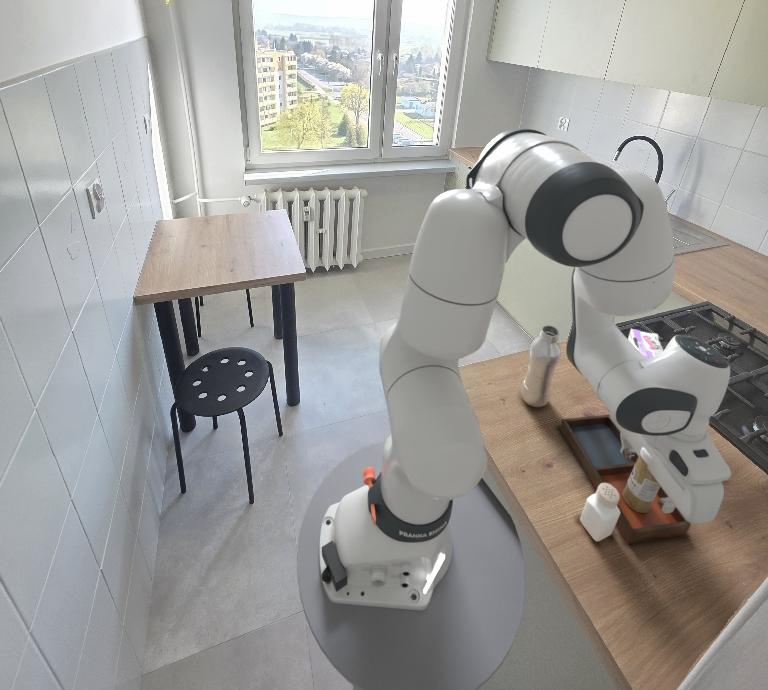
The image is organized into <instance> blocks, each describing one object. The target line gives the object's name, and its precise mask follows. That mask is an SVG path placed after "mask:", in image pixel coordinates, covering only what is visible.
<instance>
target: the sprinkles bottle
mask: <svg viewBox="0 0 768 690" xmlns="http://www.w3.org/2000/svg"><path fill="white" fill-rule="evenodd" d="M640 455H641V456H640V457H638V459H637V461H636V463H635V465H634V467H633V470H632V472H631V474H630V477H629V479H628V482H627V484H626V487H625V488H624V489H623V492H622V495H623V498H624V501H625V502H626V504H627V505H628V506H629V507H630V508H632V509H633V510H635V511H637V512H640V513H647V512H648V511H649V510H650V507H651V504H652V501H653V500H654V498H655V496H656V494H657V492H658V490H659V488H660V484H659V483H658V482H657V480H656V479H655V478H654V476H653V475H652V474H651V472H650V471H649V470H648V468H647V466H648V465H649V466H650V464H651V462H652V457H651V456H650V454H649V453H648V452H647V450H646V449H645V448H644V447H642V448H641V451H640ZM647 464H648V465H647Z"/></svg>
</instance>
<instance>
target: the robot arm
mask: <svg viewBox="0 0 768 690" xmlns="http://www.w3.org/2000/svg"><path fill="white" fill-rule="evenodd" d="M470 179H471V185H470ZM465 185H466V186H465V187H466V188H455V189H450V190H447V191H445V192H442V193H440V194H439V195H438V196H436V197H435V198H434V199H433V201H432V202H431V203H430V205H429V206H428V209H427V211H426V214H425V215H424V217H423V220H422V222H421V224H420V225H421V226H420V228H419V231H418V234H417V237H416V240H415V244H414V246H413V251H412V254H411V257H410V262H409V268H408V273H407V278H406V283H405V288H404V293H403V298H402V304H401V308H400V314H399V317H398V319H397V322H396V323H394V324H392V325H391V326H390V327H389V328H388V329H387V330H386V331H385V332H384V333H383V335H382V337H381V338H380V343H379V355H378V370H379V376H380V380H381V385H382V389H383V390H382V391H383V395H384V400H385V403H386V404H385V405H386V410H387V416H388V422H389V427H390V434H389V435H388V437H387V438H386V440H385V441H386V442H385V444H384V447H383V456H382V471H381V473H380V474H379V476H378V477H377V479H376V478H375V470H374V468H372V467H367V468H365V469H364V470H363V476H364V484H365V486H363V487H361V488H359V489H357V490H355V491H353V492H351V493H349V494H347V495H345V496H344V497H343V498H342V499H341V501H340V502H339V503H336V504H333V505H331V506H330V507H329V508H328V510H327V512H326V514H325V516H324V519H323V522H322V526H321V532H320V541H319V565H320V573H321V579H322V583H323V586H324V589H325V591H326V594H327V596H328V597H329V599H330V600H331V601H332V602H334V603H340V604H351V605H362V606H373V607H384V608H396V609H407V610H418V611H423V610H425V609H427V607H428V606H429V604H430V601H431V598H432V594H433V591H434V588H435V587H436V585H437V584H438V583H439V582H440V580H441V579H442V578H443V577H444V575H445V574H446V572H447V570H448V568H449V565H450V562H451V558H452V537H451V533H450V530H449V520H450V517H451V512H452V507H453V499H457V498H459V497H462V496H464V495H465V494H467V493H469V492H470V491H471V490H472V489H473V488H474V487H475V486H476V485H477V484H478V483H479V481H480V480H481V478H483V476H484V474H485V472H486V470H487V466H488V457H487V452H486V447H485V441H484V437H483V432H482V428H481V424H480V421H479V418H478V415H477V413H476V411H475V408H474V406H473V404H472V402H471V400H470V397H469V395H468V392H467V391H466V388H465V385H464V383H463V380H462V378H461V377H462V376H461V374H460V366H459V360H460V359H463V358H466V357H468V356H470V355H473V354H475V353H476V352H477V351H479V350H480V349H481V347H482V346H483V345H484V343H485V341H486V338H487V335H488V330H489V327H490V324H491V321H492V317H493V315H494V311H495V307H496V305H497V300H498V297H499V294H500V290H501V287H502V282H503V280H504V279H503V278H504V273H505V268H506V264H507V263H508V261H509V259H510V257H511V255H512V254H513V253H514V251H515V250H516V249H517V247H519V245H520V244H522V242H523V241H524V240H527V241H528V242H529V243H530V244H531V246H532V247H533V248H534V249H535V250H536V251H537V252H539V253H540V254H541V255H543V256H544V257H546V258H548V259H550V260H551V261H553V262H555V263H558V264H560V265H563V266H566V267H571V268H573V269H572V273H571V281H570V291H571V295H570V296H571V316H572V317H571V318H572V319H571V321H572V322H571V329H570V333H569V336H568V339H567V343H566V349H565V350H566V351H565V352H566V356H567V360H568V361H569V363H570V364H571V365H572V366H573V367H574V369H576V370H577V371H578V373H579V374H580V375H581V376H582V377H583V379H584V380H585V382H587V384H588V385H589V387H590V388H591V389H592V392H594V394H595V395H596V397H598V399H599V400H600V402H601V403H602V404H603V406H604V407H605V408H606V410H607V411H608V414H609V415H610V418H611V420H612V421H613V422H614V424H615V425H616V426H617V428H618V429H619V430H620V432H621V433H620V437H621V444H622V447H621V450H620V452H621V453H622V454H623V456H624V457H625V459H628V458H629V459H632V458H633V457H634V454H635V453H637V455H638V456H639V457H640V456H641V455H640V451H641V448H642V447H644V448H645V449H646V450H647V452H648V453H649V454H650V456H651V457H652V462H651V464H650V466H649V465H648V464H647V465H648V466H647V468H648V470H649V471H650V472H651V474H652V475H653V476H654V478H655V479H656V480H657V482H658V483H659V484H660V486H661V487H662V488H663V490H664V491H665V492H666V494H667V495H668V497H666V498H660V499H659V502H658V503H657V504H658V506H659V507H660V509H661V510H662V511H663V513H664V514H666V513H671V512H673V511H674V509H675V508H676V507H677V509H678V510H679V511H680V513H681V514H682V516H683V517H684V518H685V520H686V521H687V522H689V523H690V524H694V525H700V524H701V525H703V524H707V523H710V522H712V521H713V520H714V519H715V518H716V516H717V514H718V513H719V510H720V508H721V506H722V503H723V499H724V494H725V489H724V485H723V482H725V481H727V480H729V479H730V478H731V476H732V471H731V468H730V466H729V465H728V463H727V462H726V461H725V458H724V457H723V456H722V454H721V453H720V451H719V449H718V447H717V446H716V444H715V442H714V441H713V438H712V435H711V434H710V432H709V427H710V419H711V417H712V416H714V414H716V413H717V411H718V410H719V408H720V406H721V404H722V403H723V400H724V397H725V395H726V392H727V389H728V386H729V382H730V379H731V365H730V363H729V361H728V360H727V359H726V358H725V357H724V356H723V355H722V354H721V353H720V352H719V351H718V350H716V348H715V347H713V346H712V345H710V344H708V343H707V342H706V341H703V340H701V339H700V338H697V337H694V336H691V335H685V334H676V335H674V336H673V337H672V338H671V339H670V340H669V342H668V343H667V345H666V346H665V348H663V350H664V351H663V352H662V353H660V354H659V355H657V356H655V357H653V358H650V359H646V358H645V357H644V356H643V355H642V354H641V353H640V352H639V351H638V350H637V349H636V348H635V347H634V345H633V344H632V343H631V342H630V341H629V340H628V337H627V336H626V335H625V334H624V333H623V331H622V330H621V329H620V328H619V327H618V325H617V324H616V322H615V317H634V316H640V315H644V314H647V313H650V312H651V311H653V310H655V309H657V308H658V307H659V306H661V305H662V304H663V303H664V302H665V301H667V299H668V298H669V297H670V294H671V292H672V291H673V290H672V289H673V286H674V282H675V249H674V248H675V247H674V237H673V229H672V224H671V219H670V215H669V210H668V208H667V207H668V206H667V203H666V201H665V197H664V194H663V191H662V189H661V187H660V186H659V184H658V183H657V182H656V181H655V180H654V179H653V178H651V177H650V176H648V174H647V175H646V174H645V173H642V172H639V171H637V170H631V169H622V168H621V169H618V168H617V169H613V168H611V167H610V166H608V165H606V164H603V163H600V162H598V161H596V160H595V159H594V158H593V157H591V156H589V155H588V154H586V153H584V152H582V150H580V149H579V148H578V147H577V146H575V145H573V144H571V143H568V142H567V141H564V140H562V139H560V138H557V137H553V136H550V135H547V134H546V133H544V132H543V131H540V130H536V129H530V128H513V129H509V130H505V131H503V132H501V133H498V134H497V135H496V136H494V138H492V139H491V140H490V141H489V142H488V143H487V144H486V145H485V147H484V149H483V150H482V151H481V153H480V154H479V157H478V158H477V161H476V163H475V164H474V165H473V166H472V168H471V169H470V170H469V171H468V173H467V175H466V178H465ZM327 522H330V525H327V524H326V523H327ZM362 594H363V595H364V596H361V595H362ZM412 596H415V597H416V600H412V599H411V597H412Z"/></svg>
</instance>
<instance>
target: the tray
mask: <svg viewBox="0 0 768 690" xmlns="http://www.w3.org/2000/svg"><path fill="white" fill-rule="evenodd" d="M559 430H560V432H561V434H562V436H563V437H564V439H565V441H566V443H567V444H568V446H569V448H570V450H572V452H573V454H574V456H575V458H576V460H577V461H578V462H579V464H580V466H581V468H582V470H583V471H584V473H585V474H586V476H587V478H588V480H589V481H590V483H591V484H592V486H593V488H594V490H595V492H596V491H597V488H598V486H599V485H600V484H601V483H608V484H610V485H612V486H613V487H614V488H616V490H617V491H618V493H619V498H620V499H619V502H618V504H617V507H618V508H619V510H620V516H619V518H618V520H617V523H616V525H615V526H616V527H617V528H618V530H619V533H621V535H622V537H623V538H624V540H625V542H626V543H627V544H628V545H629V544H635V543H636V544H637V543H643V542H648V541H655V540H661V539H662V540H663V539H669V538H674V537H681V536H682V537H683V536H686V535H687V534H688V531H689V529H690V527H691V525H692V523H689V522H687V521H686V520H685V518H684V517H683V516H682V514H681V513H680V511H679V510H678V509H677V507H676V508H675V509H674V511H673V512H671V513H666V514H664V513H663V511H662V510H661V509H660V507H659V506H658V504H657V503H658V502H659V499H660V498H666V497H668V495H667V494H666V492H665V491H664V490H663V488H662V487H661V486H660V488H659V490H658V492H657V494H656V496H655V498H654V500H653V501H652V504H651V507H650V510H649V511H648V512H647V513H640V512H637V511H635V510H633V509H632V508H630V507H629V506H628V505H627V504H626V502H625V501H624V498H623V495H622V492H623V489H624V488H625V487H626V484H627V482H628V479H629V477H630V474H631V472H632V470H633V467H634V465H635V463H636V461H637V459H638V457H639V456H638V455H637V453H635V454H634V457H633V458H632V459H629V458H628V459H625V457H624V456H623V454H622V453H621V452H620V450H621V447H622V444H621V437H620V433H621V432H620V430H619V429H618V428H617V426H616V425H615V424H614V422H613V421H612V420H611V418H610V415H609V413H608V414H600V415H590V416H579V417H571V418H570V417H569V418H562V419H561V423H560V426H559Z"/></svg>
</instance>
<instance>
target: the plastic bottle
mask: <svg viewBox="0 0 768 690" xmlns="http://www.w3.org/2000/svg"><path fill="white" fill-rule="evenodd" d="M559 336H560V330H559V329H558V328H557V327H555V326H553V325H550V324H549V325H548V324H547V325H543V326H542V327H541V330H540V332H539V336H537V337H536V338H535V339H534V340H532V342H531V344H530V349H529V361H528V362H529V363H528V368H527V371H526V374H525V377H524V378H523V381H522V383H521V386H520V396H521V398H522V399H523V401H524V402H525V404H527V405H528V406H530V407H534V408H542V407H544V406H546V405H547V404H548V403H549V401H550V399H551V394H552V380H553V376H554V373H555V370H556V368H557V365H558V364H559V362H560V360H561V357H562V348H561V346H560V344H559Z"/></svg>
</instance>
